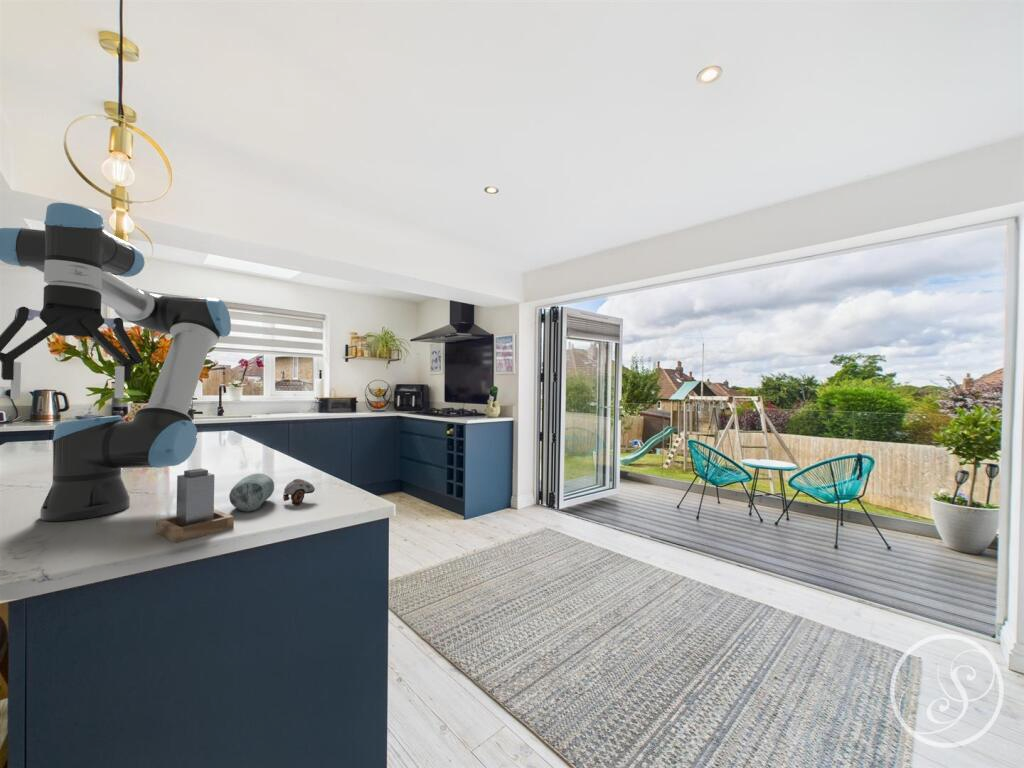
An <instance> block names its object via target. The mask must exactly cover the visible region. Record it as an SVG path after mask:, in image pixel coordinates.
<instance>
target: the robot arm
mask: <svg viewBox="0 0 1024 768" xmlns="http://www.w3.org/2000/svg"><path fill="white" fill-rule="evenodd" d="M43 224H44V230H42V229H33V228H25V227H0V261H1V262H3V263H4V264H7V265H10V266H18V267H22V268H23V267H24V268H26V267H31V268H34V269H36V270H38V271H39V272H42V273H43V282H45V283H46V284H45V286H43V297H42V298H43V303H42V304H43V307H42V309H40V310H37V309H32V308H29V307H27V306H20V307H18V308H17V309H15V314H14V317H13V318H14V319H13V320H12V322H10V324H8V326H6V328H5V329H4V330H3V332H2V333H1V334H0V363H1V370H0V371H1V374H0V375H1V376H0V377H1V379H2V380H3V381H10V396H9V397H10V400H20V399H21V382H22V381H21V379H22V375H21V373H22V372H21V371H22V362H21V361H15V360H16V359H17V358H18V359H19V357H21V356H22V355H23V354H25V353H26V352H28V351H29V350H31V349H32V348H34V347H35V346H36V345H38V344H39V343H41V342H42V341H44V340H45V339H46V338H48V337H50V336H51V335H53V334H55V335H58V336H61V337H67V336H68V337H69V336H72V337H74V338H75V337H76V338H87V337H89V338H90V339H91V340H93V341H94V342H95V343H96V344H97V345H99V346H100V347H101V348H102V349H103V350H104V351H105V352H106V353H107V354H109V356H110V357H111V358H113V360H115V362H117V363H118V364H119V365H118V366H114V395H113V396H114V398H115V399H124V398H125V383H126V382H127V383H128V382H130V381H131V380H132V379H131V378H132V377H131V373H132V367H133V366H134V365H138V364H142V363H143V362H144V360H143V358H142V356H141V354H140V353H139V351H138V350H137V348H136V346H135V345H134V343H133V341H132V339H131V338H130V337H129V334H128V333H127V332H126V329H125V327H124V320H125V321H127V322H130V323H132V324H134V325H136V326H138V327H141V328H144V329H146V330H150V331H153V332H156V333H160V334H166V335H171V336H172V337H173V339H172V342H171V344H170V347H169V349H168V352H167V354H166V357H165V359H164V362H163V364H162V367H161V369H160V372H159V373H158V377H157V380H156V381H155V385H154V387H153V389H152V392H151V395H150V397H149V400H148V402H147V405H146V406H144V407H141V408H139V409H138V410H136V413H135V415H134V417H133V418H132V419H133V420H127V421H124V419H123V416H121V415H110V416H103V417H94V418H93V417H92V418H81V419H74V420H67V421H65V420H64V421H62V422H59V423H57V424H56V425H55V427H54V431H53V437H52V440H51V441H52V442H51V443H53V444H52V484H51V487H50V489H49V491H48V493H47V496H46V497H45V499H44V502H43V503H42V506H41V507H40V512H39V513H40V514H39V519H40V520H42V521H45V522H65V521H68V522H69V521H74V520H75V521H76V520H84V519H90V518H97V517H102V516H106V515H111V514H114V513H117V512H120V511H123V510H126V509H128V508H129V507H130V506H131V499H130V498H131V497H130V494H129V493H128V490H127V488H126V485H125V484H124V480H123V478H122V469H137V468H138V469H141V468H155V469H158V468H159V469H160V468H164V467H176V466H179V465H180V464H182V463H185V462H186V461H187V460H188V459H189V458H190V457H191V455H192V454H193V451H194V450H195V447H196V445H197V441H198V437H197V435H198V429H197V427H196V424H194V422H193V419H192V417H191V416H190V414H189V410H190V407H191V403H192V401H193V399H194V395H195V392H196V388H197V386H198V383H199V380H200V377H201V374H202V371H203V368H204V366H205V363H206V358H207V356H208V353H209V349H210V348H211V347H215V346H216V345H217V343H219V338H220V337H221V338H225V337H228V336H229V335H230V333H231V330H232V329H231V328H232V322H231V315H230V312H229V310H228V309H229V308H228V307H227V305H226V304H225V302H224V301H223V300H221V299H219V298H211V297H208V296H207V297H193V296H181V295H180V296H179V295H175V296H174V295H166V294H164V295H162V294H155V293H150V292H149V291H147V290H146V289H141V288H137V287H136V288H135V287H134V286H132V285H131V284H129V283H127V282H126V281H124V280H123V279H121V278H119V277H124V278H127V277H128V278H130V277H134V276H137V275H139V274H140V273H141V272H142V271H143V269H144V267H145V264H146V263H145V257H144V255H143V253H142V252H141V250H139V249H138V248H136V247H135V246H134V245H132V244H131V243H130V242H128V241H125V240H123V239H120V238H119V237H117V236H115V235H113V234H111V233H108V232H107V231H106V230H104V228H105V225H104V219H103V217H102V215H101V214H100V213H99V212H97V211H96V210H94V209H91V208H89V207H86V206H85V207H84V206H81V205H78V204H73V203H68V202H67V203H66V202H52V203H49V204H48V205H47V207H46V211H45V221H44V222H43ZM118 276H119V277H118ZM102 305H104V306H107V307H109V308H110V309H113V310H114V312H115V314H116V315H117V317H112V318H111V317H109V318H108V317H103V315H102ZM37 317H38V318H39V319H40V320H41V321H42V322H43V324H45V325H46V326H45V327H42V328H41V329H40V330H38V331H37V332H36V333H34V334H33V335H31V336H30V337H29V338H27V339H26V340H24V341H22V342H21V343H19V344H18V345H17V346H15V347H13V348H12V349H11V350H10V351H8V352H7V353H4V352H2V351H3V350H4V348H5V347H6V346H7V345H8V344H9V343H10V342H11V340H12V339H13V338H14V337H15V336H16V335H17V334H18V333H19V332H20V331H21V329H22V328H23V327H24V326H25V324H26V323H27V321H28V322H30V321H33V320H34V319H35V318H37ZM104 324H105V325H106V326H107V327H108V329H111V330H112V332H113V334H114V336H115V337H116V339H117V341H118V342H119V344H120V345H121V347H122V348H123V350H124V352H125V354H126V355H127V356H128V357H127V356H126V355H124V353H123V352H122V351H121V350H119V348H117V347H116V346H115V345H114V344H113V343H112V342H111V341H110V340H109V339H108V338H107V337H106V336H105V334H103V332H101V331H100V329H99V328H101V327H102V326H103V325H104Z"/></svg>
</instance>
